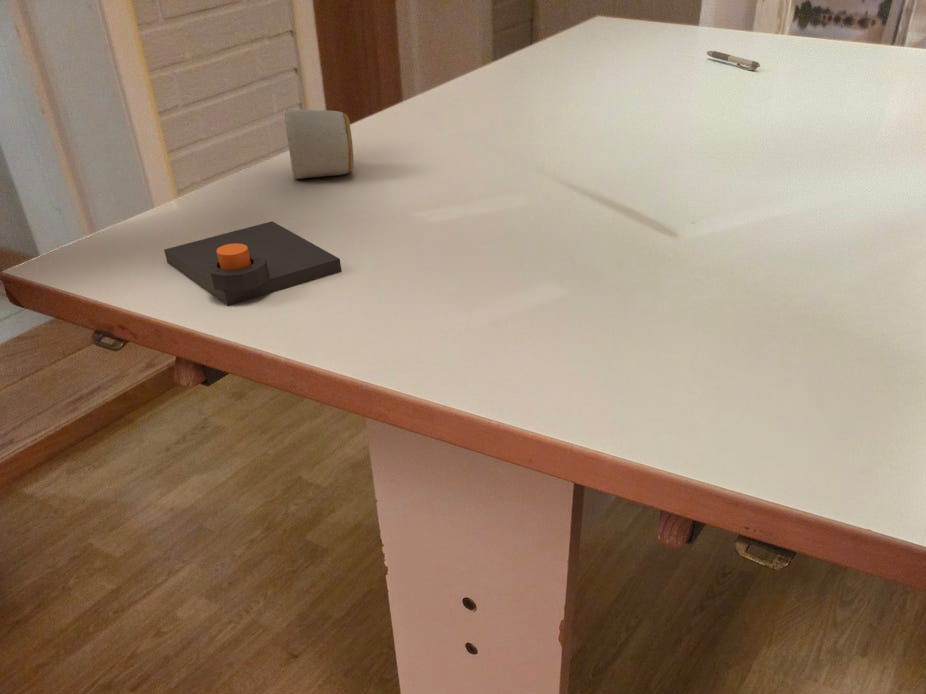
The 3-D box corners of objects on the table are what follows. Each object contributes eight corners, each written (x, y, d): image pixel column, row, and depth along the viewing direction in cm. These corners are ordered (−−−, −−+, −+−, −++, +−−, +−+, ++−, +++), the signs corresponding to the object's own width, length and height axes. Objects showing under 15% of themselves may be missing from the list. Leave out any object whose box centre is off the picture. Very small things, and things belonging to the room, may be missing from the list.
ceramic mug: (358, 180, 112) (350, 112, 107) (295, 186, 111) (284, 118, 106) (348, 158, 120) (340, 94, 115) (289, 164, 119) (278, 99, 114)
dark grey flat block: (163, 263, 94) (155, 234, 92) (274, 233, 99) (269, 205, 97) (227, 311, 84) (220, 280, 82) (346, 274, 90) (342, 245, 88)
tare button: (215, 266, 86) (211, 248, 85) (243, 259, 87) (239, 240, 86) (228, 275, 84) (224, 257, 83) (256, 267, 85) (252, 249, 84)
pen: (756, 72, 149) (757, 62, 148) (703, 58, 158) (704, 49, 157) (760, 71, 150) (762, 62, 149) (708, 58, 159) (709, 48, 158)
